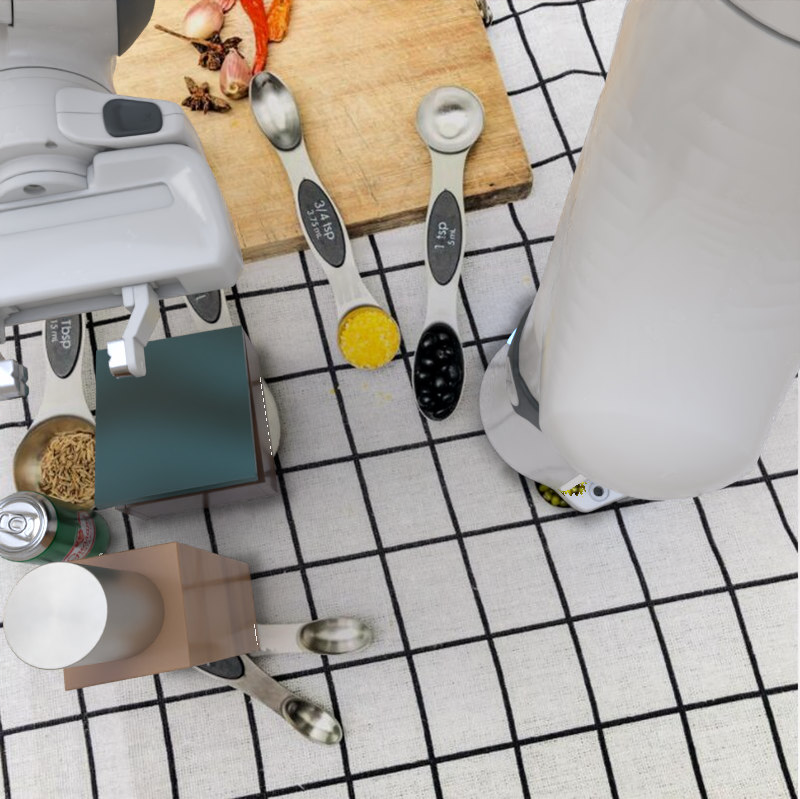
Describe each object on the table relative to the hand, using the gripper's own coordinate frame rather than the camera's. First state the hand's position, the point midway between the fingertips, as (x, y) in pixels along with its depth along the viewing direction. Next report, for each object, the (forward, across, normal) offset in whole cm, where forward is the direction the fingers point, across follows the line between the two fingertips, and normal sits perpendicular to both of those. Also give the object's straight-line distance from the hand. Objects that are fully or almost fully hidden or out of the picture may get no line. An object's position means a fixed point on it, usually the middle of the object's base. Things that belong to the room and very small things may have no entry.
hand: (69, 386), depth 45 cm
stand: (+12, 0, +27) cm, 29 cm away
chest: (-3, +1, +27) cm, 27 cm away
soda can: (+4, -10, +27) cm, 29 cm away
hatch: (-3, +1, +18) cm, 19 cm away
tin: (+12, 0, +5) cm, 13 cm away
